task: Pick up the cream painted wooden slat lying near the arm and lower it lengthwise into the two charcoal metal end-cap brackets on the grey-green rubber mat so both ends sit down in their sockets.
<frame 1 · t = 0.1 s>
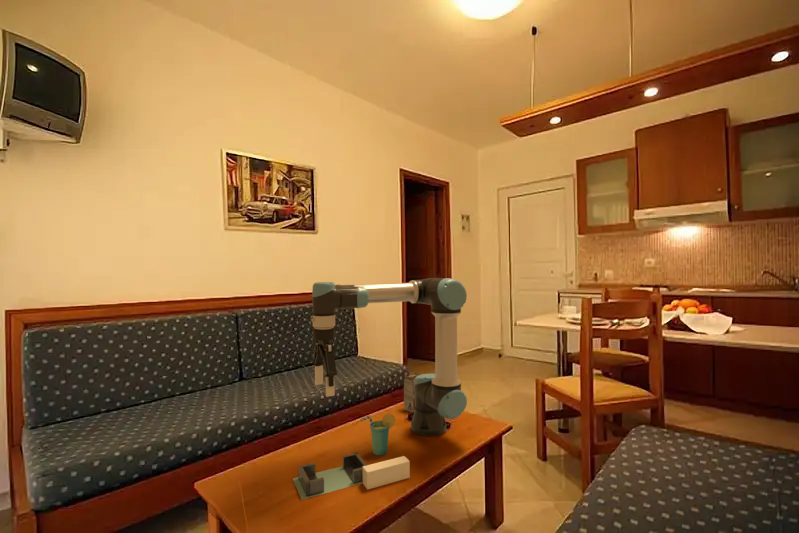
hand: (324, 389, 134), 28 cm above the table, fingers open, 13 cm apart
mat: (333, 480, 129), on the table
slat: (386, 482, 128), on the table
cup: (377, 454, 147), on the table
cap A: (355, 473, 133), resting on mat
coffee box: (414, 409, 192), on the table
cap B: (310, 485, 126), resting on mat
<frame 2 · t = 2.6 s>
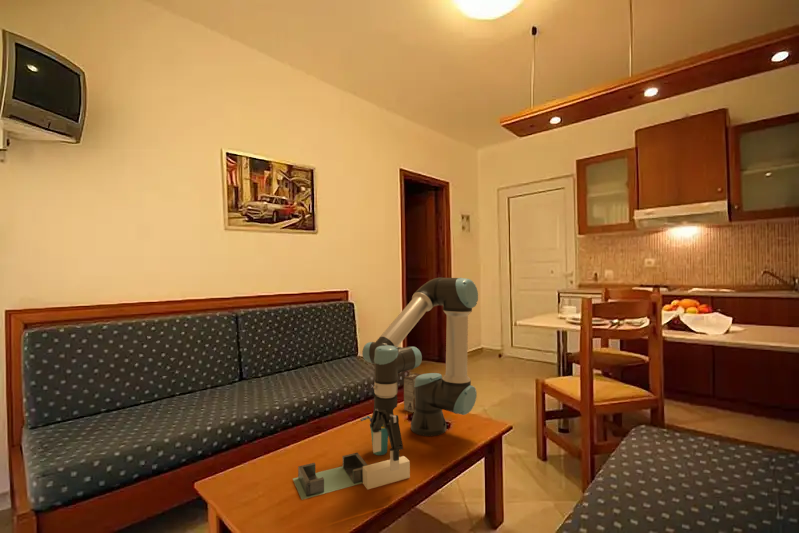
hand: (385, 460, 128), 7 cm above the table, fingers open, 13 cm apart
nothing on the table moved.
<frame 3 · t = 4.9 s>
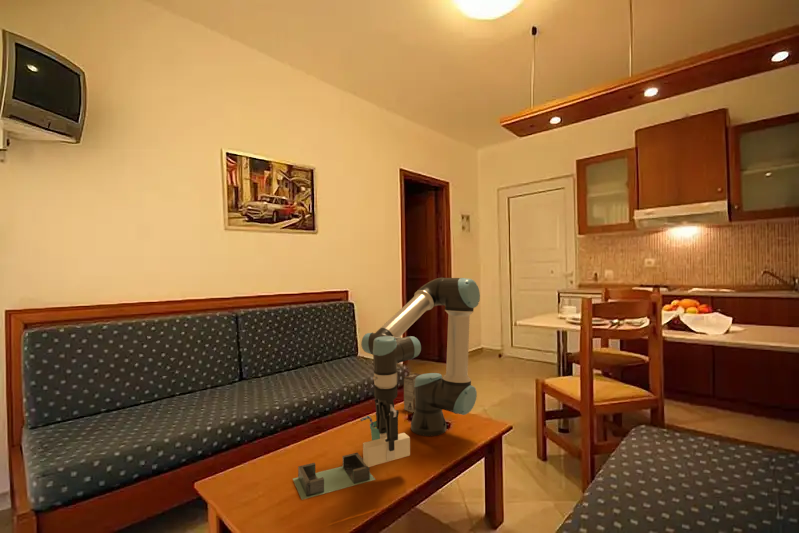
hand: (387, 455, 129), 8 cm above the table, fingers closed on slat, 4 cm apart
slat: (387, 458, 129), point 7 cm above the table, touching gripper
everything else where it was.
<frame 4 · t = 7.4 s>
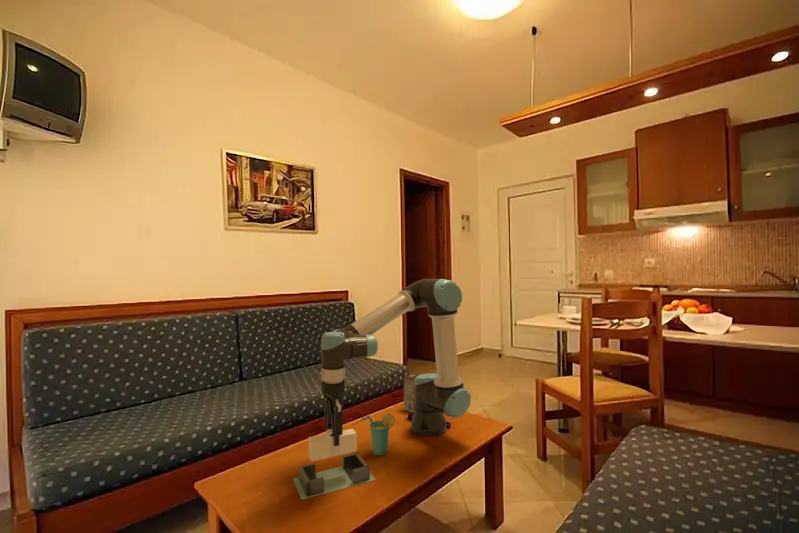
hand: (333, 451, 129), 10 cm above the table, fingers closed on slat, 4 cm apart
slat: (332, 453, 129), point 9 cm above the table, touching gripper
everything else where it was.
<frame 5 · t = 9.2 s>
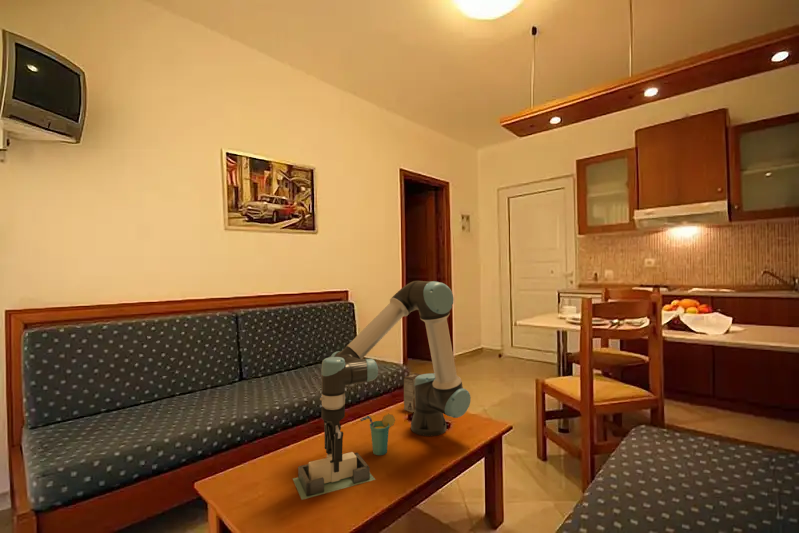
hand: (333, 477, 129), 1 cm above the table, fingers closed on slat, 4 cm apart
slat: (333, 477, 129), point 1 cm above the table, touching cap A, cap B, gripper
everything else where it was.
when the fingers open (1 cm above the table, at t = 9.9 s): slat stays where it is, resting on cap A, cap B.
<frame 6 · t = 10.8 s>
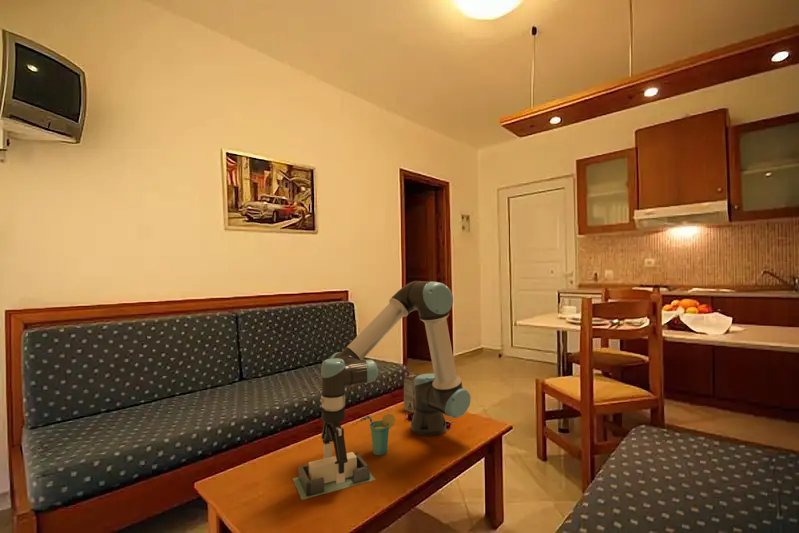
hand: (333, 472, 129), 3 cm above the table, fingers open, 13 cm apart
slat: (333, 477, 129), point 1 cm above the table, touching cap A, cap B
everything else where it was.
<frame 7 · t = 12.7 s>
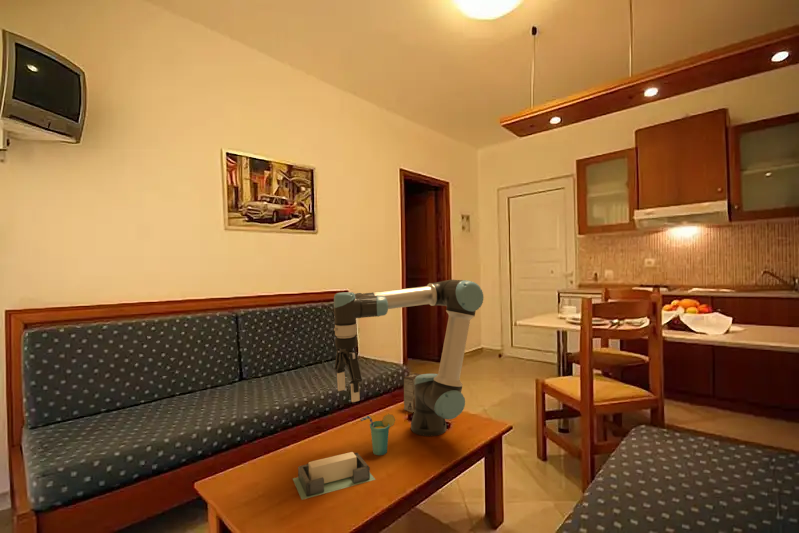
hand: (348, 395, 141), 24 cm above the table, fingers open, 13 cm apart
nothing on the table moved.
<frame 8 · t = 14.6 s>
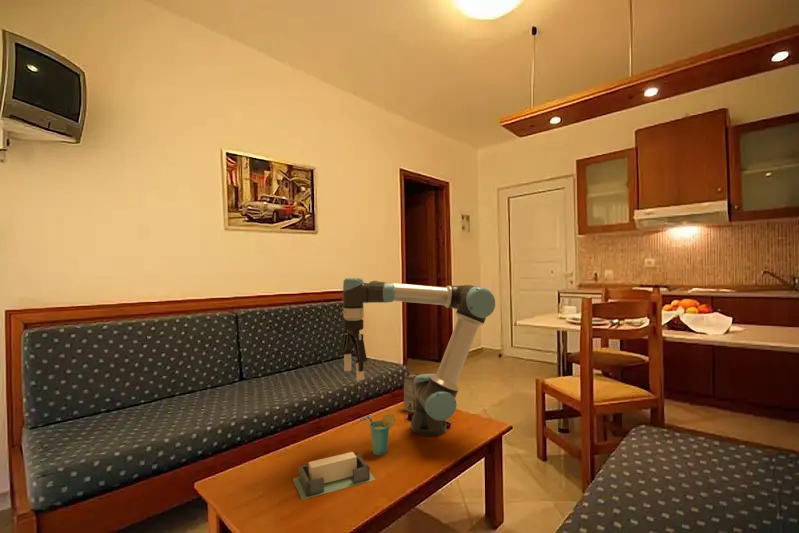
hand: (353, 375, 149), 29 cm above the table, fingers open, 13 cm apart
nothing on the table moved.
at the end: slat 0.3 cm from the target spot, point 0.9 cm above the table; slat tilted 0°; the gripper is holding nothing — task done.
